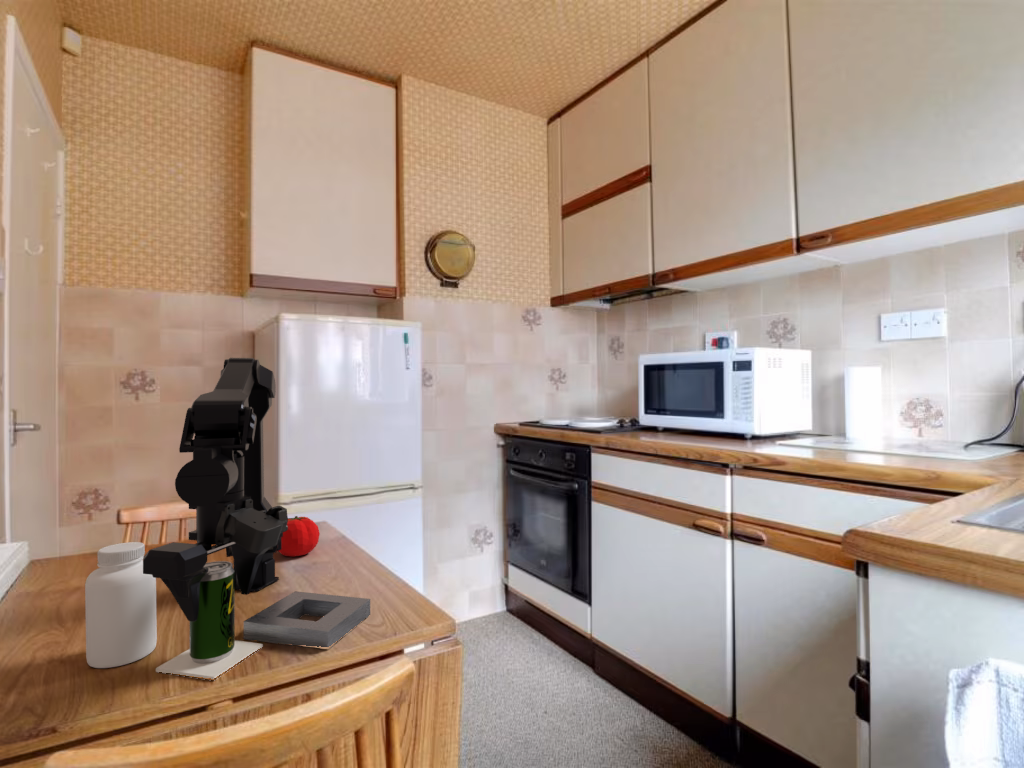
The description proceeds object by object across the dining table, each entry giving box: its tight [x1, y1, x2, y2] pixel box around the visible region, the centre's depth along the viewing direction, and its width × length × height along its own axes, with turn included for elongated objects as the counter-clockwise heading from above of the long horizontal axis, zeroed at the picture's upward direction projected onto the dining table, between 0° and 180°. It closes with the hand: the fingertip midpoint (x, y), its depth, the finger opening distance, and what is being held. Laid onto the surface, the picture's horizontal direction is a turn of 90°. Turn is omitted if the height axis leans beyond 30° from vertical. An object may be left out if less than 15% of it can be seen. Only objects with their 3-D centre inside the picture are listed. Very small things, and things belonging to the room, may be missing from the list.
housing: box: [243, 590, 371, 647], centre depth 83 cm, size 14×12×3 cm
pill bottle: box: [84, 541, 158, 669], centre depth 75 cm, size 8×8×15 cm
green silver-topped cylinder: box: [189, 560, 236, 664], centre depth 74 cm, size 5×5×12 cm
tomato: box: [277, 515, 321, 558], centre depth 120 cm, size 9×10×8 cm
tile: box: [155, 639, 264, 679], centre depth 74 cm, size 9×9×1 cm
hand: (220, 606), depth 73 cm, fingers open, 9 cm apart
